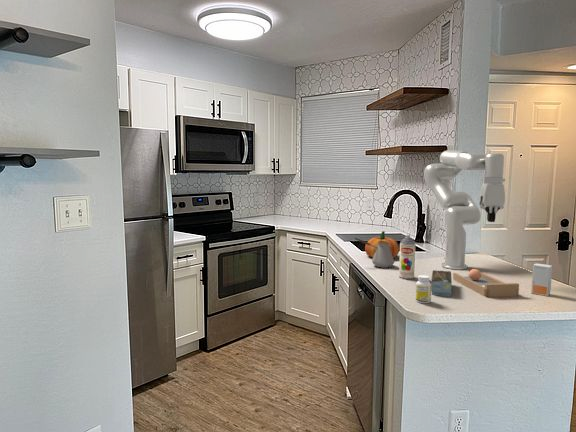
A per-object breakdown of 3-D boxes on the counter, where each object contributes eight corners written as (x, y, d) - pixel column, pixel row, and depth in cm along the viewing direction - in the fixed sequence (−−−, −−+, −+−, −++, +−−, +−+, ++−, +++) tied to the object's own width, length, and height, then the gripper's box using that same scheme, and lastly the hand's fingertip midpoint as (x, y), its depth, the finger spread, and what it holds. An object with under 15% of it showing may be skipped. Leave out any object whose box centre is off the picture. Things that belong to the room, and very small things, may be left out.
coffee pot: (391, 264, 220) (392, 236, 219) (396, 269, 209) (397, 239, 207) (351, 263, 221) (352, 235, 219) (354, 268, 210) (354, 239, 208)
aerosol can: (397, 278, 190) (399, 235, 188) (400, 275, 196) (401, 233, 194) (413, 280, 187) (414, 236, 185) (414, 276, 194) (416, 234, 192)
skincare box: (530, 293, 168) (532, 264, 167) (533, 291, 171) (535, 263, 170) (547, 296, 164) (550, 267, 162) (550, 294, 166) (552, 265, 165)
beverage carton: (430, 295, 165) (430, 279, 165) (431, 283, 183) (432, 268, 183) (451, 297, 163) (452, 281, 162) (450, 285, 180) (451, 270, 180)
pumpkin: (362, 259, 232) (363, 233, 230) (367, 253, 250) (367, 228, 248) (397, 261, 226) (398, 234, 224) (399, 255, 244) (400, 230, 242)
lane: (453, 279, 189) (453, 268, 189) (480, 278, 190) (481, 268, 190) (486, 297, 162) (486, 284, 162) (518, 296, 164) (519, 284, 163)
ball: (466, 278, 186) (466, 267, 185) (476, 278, 186) (477, 267, 185) (472, 281, 181) (472, 270, 180) (483, 281, 181) (483, 270, 180)
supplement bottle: (422, 298, 160) (423, 273, 159) (433, 302, 156) (434, 277, 154) (412, 300, 158) (413, 275, 157) (423, 304, 153) (424, 278, 152)
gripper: (503, 181, 190) (501, 220, 192) (472, 181, 188) (470, 220, 190) (514, 181, 182) (511, 222, 184) (482, 181, 181) (480, 222, 183)
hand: (491, 221), depth 187 cm, fingers closed
